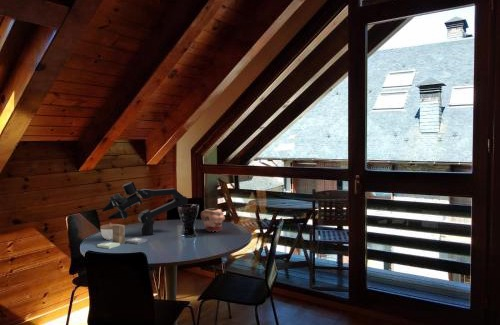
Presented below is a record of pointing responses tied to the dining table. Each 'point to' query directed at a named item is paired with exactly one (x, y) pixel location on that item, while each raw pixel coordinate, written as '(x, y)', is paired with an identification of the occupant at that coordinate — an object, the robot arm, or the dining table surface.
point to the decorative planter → (212, 219)
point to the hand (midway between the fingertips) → (105, 214)
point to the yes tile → (108, 245)
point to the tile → (136, 240)
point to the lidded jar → (107, 231)
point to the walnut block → (119, 233)
